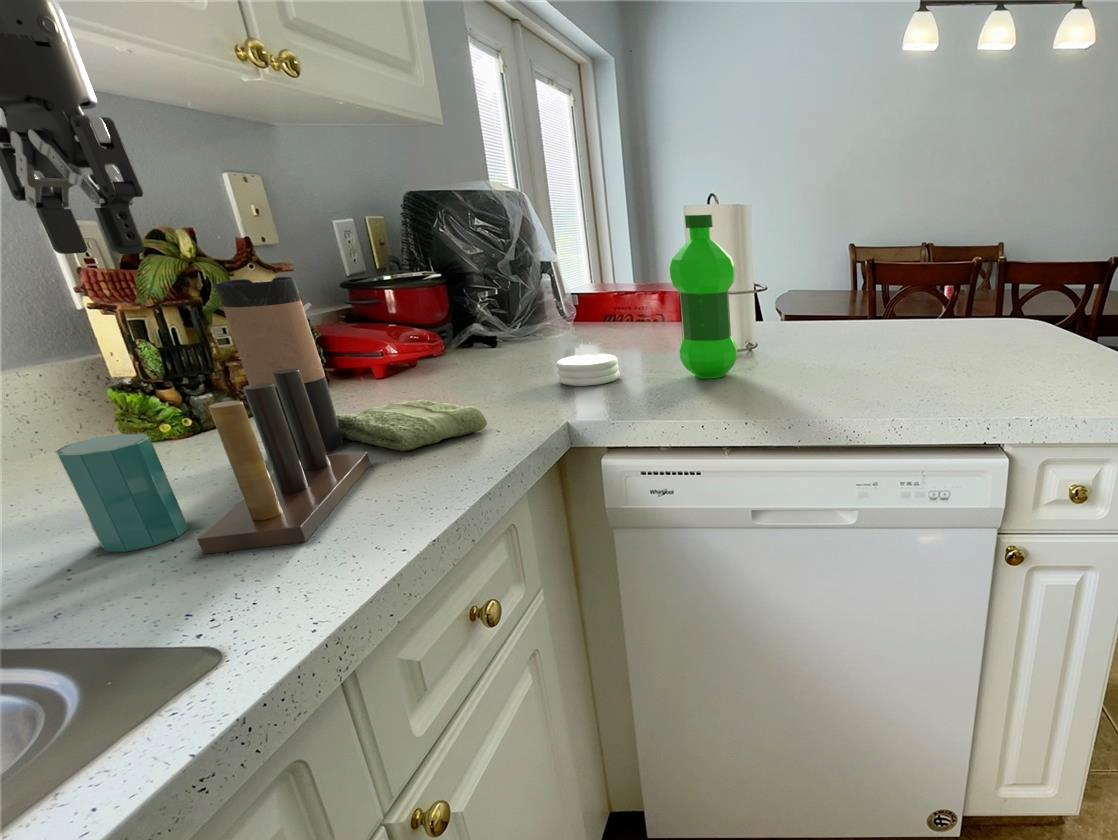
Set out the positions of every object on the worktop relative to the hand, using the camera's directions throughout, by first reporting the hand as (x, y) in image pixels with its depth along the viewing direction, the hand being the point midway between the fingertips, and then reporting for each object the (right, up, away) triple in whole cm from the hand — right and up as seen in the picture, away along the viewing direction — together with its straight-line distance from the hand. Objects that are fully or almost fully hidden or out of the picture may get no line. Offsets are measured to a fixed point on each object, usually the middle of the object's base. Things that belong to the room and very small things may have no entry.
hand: (101, 253), depth 64 cm
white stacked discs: (+27, +1, +56) cm, 63 cm away
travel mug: (+2, -15, +25) cm, 29 cm away
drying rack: (+12, -22, +8) cm, 26 cm away
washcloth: (+12, -12, +30) cm, 35 cm away
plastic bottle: (+48, +2, +57) cm, 75 cm away
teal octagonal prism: (+3, -26, +2) cm, 26 cm away
